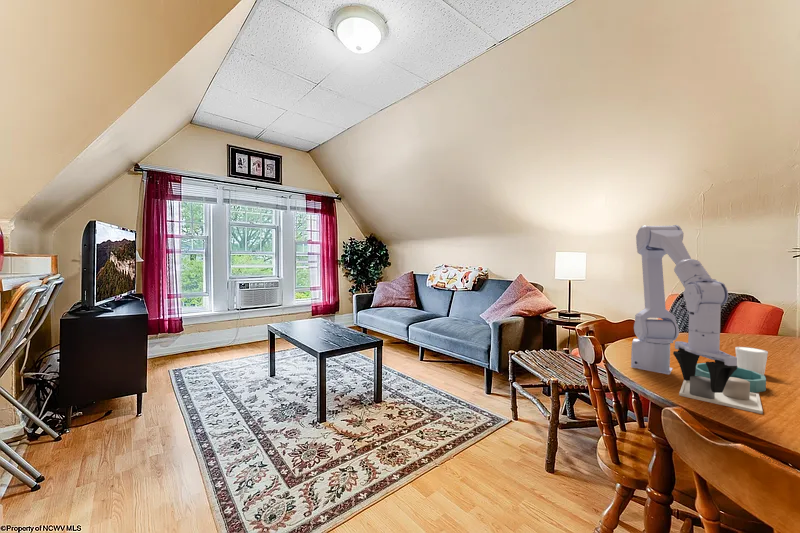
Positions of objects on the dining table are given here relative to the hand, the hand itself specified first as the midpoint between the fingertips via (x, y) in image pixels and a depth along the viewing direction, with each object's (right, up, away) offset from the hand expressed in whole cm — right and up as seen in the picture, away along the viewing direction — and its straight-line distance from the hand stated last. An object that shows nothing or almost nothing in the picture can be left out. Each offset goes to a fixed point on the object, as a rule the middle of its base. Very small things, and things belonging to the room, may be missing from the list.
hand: (702, 385), depth 83 cm
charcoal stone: (0, -2, 0) cm, 2 cm away
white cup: (+31, -3, +19) cm, 36 cm away
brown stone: (+8, -2, 0) cm, 8 cm away
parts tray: (+4, -3, 0) cm, 5 cm away
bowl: (+15, -3, +9) cm, 18 cm away
